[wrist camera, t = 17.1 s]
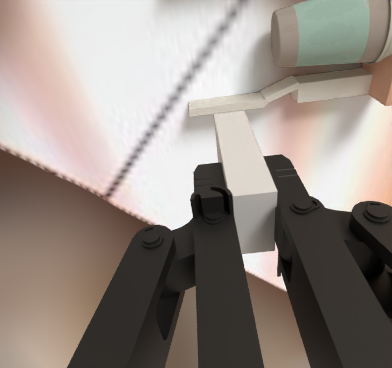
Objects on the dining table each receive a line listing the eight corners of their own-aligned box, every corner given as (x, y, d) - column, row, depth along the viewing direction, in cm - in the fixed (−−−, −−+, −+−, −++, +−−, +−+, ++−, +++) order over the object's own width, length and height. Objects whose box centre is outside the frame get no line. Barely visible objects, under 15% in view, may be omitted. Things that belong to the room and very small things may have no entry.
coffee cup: (270, 69, 40) (367, 52, 38) (283, 89, 33) (402, 70, 31) (267, -7, 35) (377, -29, 33) (281, -2, 28) (422, -30, 26)
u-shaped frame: (189, 108, 42) (190, 130, 36) (168, -44, 32) (164, -47, 26) (380, 83, 41) (411, 102, 35) (419, -82, 31) (472, -94, 25)
